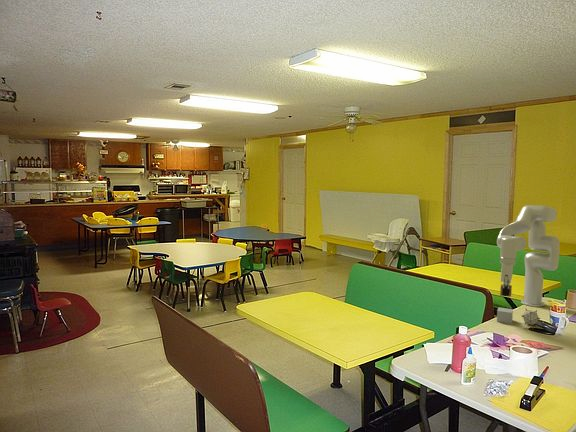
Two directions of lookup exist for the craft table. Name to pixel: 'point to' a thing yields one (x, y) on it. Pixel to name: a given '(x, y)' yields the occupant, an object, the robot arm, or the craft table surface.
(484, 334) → the craft table surface
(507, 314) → the grey block
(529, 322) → the grey spiky ball
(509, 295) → the walnut block
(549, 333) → the craft table surface
